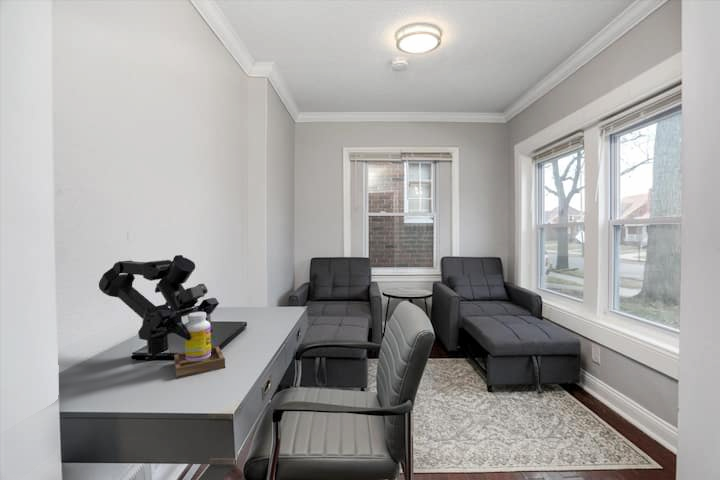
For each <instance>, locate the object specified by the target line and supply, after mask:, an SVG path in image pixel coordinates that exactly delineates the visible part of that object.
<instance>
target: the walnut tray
mask: <svg viewBox="0 0 720 480" xmlns="http://www.w3.org/2000/svg"><path fill="white" fill-rule="evenodd" d="M211 351H213V355H212V356H211V357H209V358H207V359H205V360H202V361H196V362H190V361H187V360H186V353H185V351H184V352H180V353H174V355H173V356H174V369H175V375H176V376H175V377H176V379H181V378H185V377H190V376H194V375H199V374H202V373H203V374H204V373H208V372H213V371H216V370H221V369H225V368H226V358H225V356H224V354H223V352H222V351H221V349H220V347H219V345H217V346H211Z"/></svg>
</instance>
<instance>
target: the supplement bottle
mask: <svg viewBox="0 0 720 480" xmlns="http://www.w3.org/2000/svg"><path fill="white" fill-rule="evenodd" d="M205 318H206V312H194V313H190V314H188V315H187V319H188V322H186V324H184V326H185V327H186V329H187V330H188V332H189V334H190V336H191V339H190V340H189V341H188V340H186V339H184V341H185V342H184V348H185V349H184V350H185V351H184V352H185V353H186V360H187V361H190V362H196V361H202V360H205V359H207V358H209V357H210V356H211V347H212V337H211V334H212V333H210V323H209V322H208V321H206V319H205Z"/></svg>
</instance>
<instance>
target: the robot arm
mask: <svg viewBox="0 0 720 480" xmlns="http://www.w3.org/2000/svg"><path fill="white" fill-rule="evenodd" d="M195 269H196V264H195V262H194V261H192V260H191V259H189V258H187V257H184V256H183V255H182V254H176V255H174V257H173V259H172V260H170V259H165V260H164V259H163V260H154V261H153V260H152V261H133V260H131V259H130V260H122V261H117V262H115V263H114V264H113V266H112V267H111V268H110V269H108V270H107V271H106V272H104V273H103V274H102V276H101V278H100V280H99V282H98V287H99V290H100V291H101V292H102V293H103V294H105V295H106V296H108V297H113V298H118V299H119V300H120V301H122V302H123V303H124V304H125V305H126V306H127V307H129V308H130V309H131V310H132V311H133V312H134V313H136V314H137V316H139V317H140V318H141V319H142V325H141V327H140V328H139V330H138V331H137V333H138V338H139V340H143V341H146V342H147V343H146V344H147V345H146V346H147V347H146V348H147V352H148V353H152V357H146V356H145V361H150V360H157V358H156V356H155V355H156V354H158V353H161V352H164V351H166V350H168V349H169V348H170V346H169V345H170V343H169V340H170V338H169V335H171V334H175V335H177V336H179V337H181V338H183V339H184V340H185V339H186V340H188V341H189V340H190V339H191V336H190V334H189V332H188V330H187V329H186V327H185V324H184V322H183V319H182V317H185V316H188V314H190V313H194V312H206V318H205V319H206V321H208V322H209V323H210V333H211V334H212V333H213V324H212V319H211V315H212V314H213V312H214V311H215V310H216V308H217V307H218V306H219V304H220V302H219V301H218V300H217V298H216V297H211V298H210V297H209V298H206V299H203V300H202V301H201V302H200V304H199V305H197V304H198V303H199V300H198V299H200V298H204V297H205V295H206V294H208V291H209V290H208V288H207V286H206V285H205V283H198V284H197V285H195V286H192V287H188V288H186V289H185V288H184V286H183V284H185V283H186V282H187V281H188V279H189V278H190V276H192V273H193V272H194V271H195ZM135 275H136V276H142V278H143V279H145V280H147V281H158V280H159V282H158V283H156V286H155V289H154V293H156V294H157V293H161V295H162V296H163V298H164V299H165V302H164V304H160V305H155V304H153V302H151V301H150V300H149V299H148V298H147V297H145V296H144V295H143V294H142V293H141V292H139V291H138V290H137V289H136V288H135V287H133V285H134V284H133V283H134V281H135V279H136V277H135Z"/></svg>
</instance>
